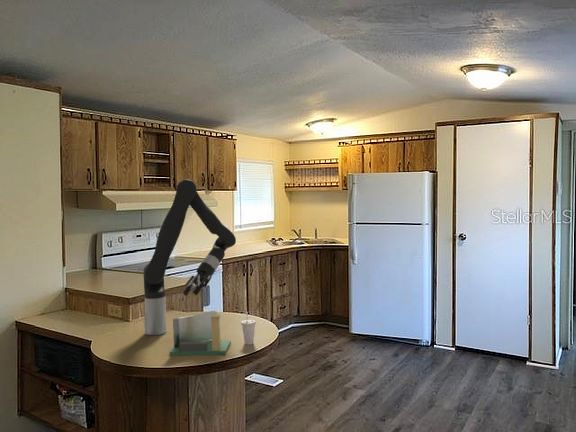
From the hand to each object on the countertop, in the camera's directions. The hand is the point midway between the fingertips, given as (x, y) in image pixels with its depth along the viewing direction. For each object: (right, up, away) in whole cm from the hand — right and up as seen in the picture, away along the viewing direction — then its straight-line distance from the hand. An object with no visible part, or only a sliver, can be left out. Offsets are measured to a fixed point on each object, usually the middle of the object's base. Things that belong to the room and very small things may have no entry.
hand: (189, 294), depth 221 cm
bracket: (+8, -21, -14) cm, 26 cm away
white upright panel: (+5, -19, -11) cm, 22 cm away
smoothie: (+27, -20, -8) cm, 35 cm away
